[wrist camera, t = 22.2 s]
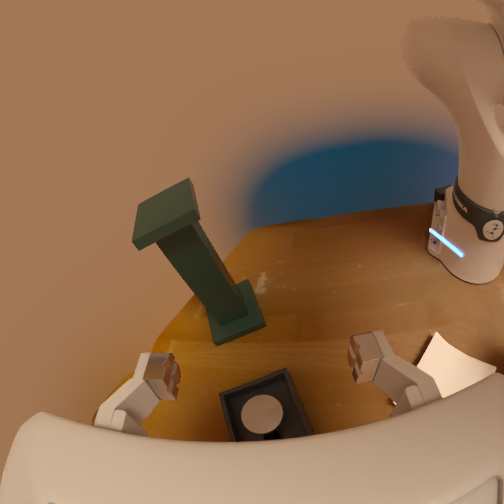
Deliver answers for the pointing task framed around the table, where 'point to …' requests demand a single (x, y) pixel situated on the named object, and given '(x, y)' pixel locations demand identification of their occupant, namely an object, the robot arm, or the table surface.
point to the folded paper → (452, 367)
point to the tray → (276, 387)
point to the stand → (197, 261)
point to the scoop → (264, 416)
